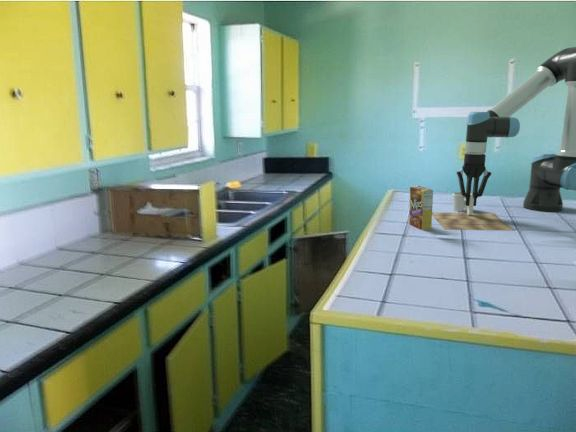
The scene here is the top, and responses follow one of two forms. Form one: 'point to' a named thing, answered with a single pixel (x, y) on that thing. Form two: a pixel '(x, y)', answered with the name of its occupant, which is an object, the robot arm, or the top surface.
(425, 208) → the candy box
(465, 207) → the cup
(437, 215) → the plank
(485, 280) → the top surface
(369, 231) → the top surface
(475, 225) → the laid panel
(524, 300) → the top surface
